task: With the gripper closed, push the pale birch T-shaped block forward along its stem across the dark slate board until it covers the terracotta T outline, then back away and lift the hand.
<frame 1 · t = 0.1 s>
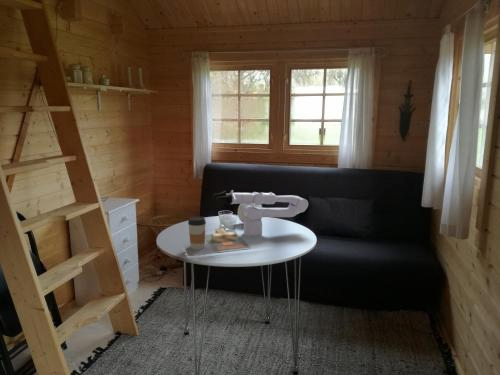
hand: (214, 198, 202), 22 cm above the table, tool horizontal, fingers open, 7 cm apart
t block: (222, 237, 206), point 1 cm above the table, touching slate board
coffee cup: (197, 249, 191), on the table
puzzle ball: (250, 224, 233), on the table
slate board: (225, 242, 200), on the table
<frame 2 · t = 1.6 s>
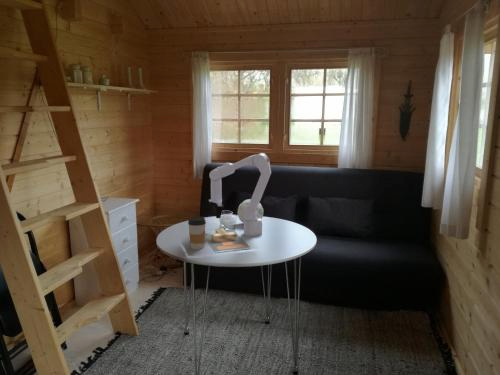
hand: (216, 216, 214), 9 cm above the table, tool pointing down, fingers open, 7 cm apart
nothing on the table moved.
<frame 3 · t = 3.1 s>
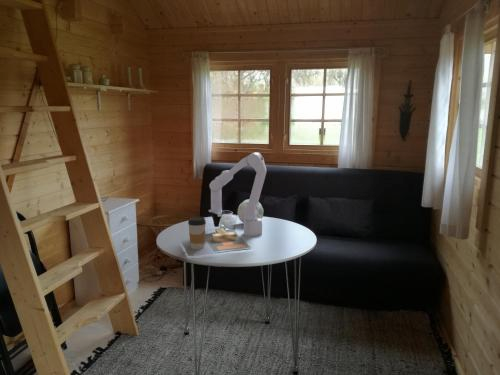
hand: (216, 226, 215), 4 cm above the table, tool pointing down, fingers closed
nothing on the table moved.
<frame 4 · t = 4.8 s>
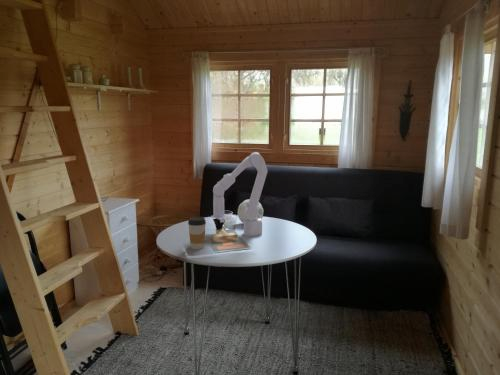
hand: (219, 232, 211), 2 cm above the table, tool pointing down, fingers closed
t block: (222, 238, 205), point 1 cm above the table, touching gripper
everything else where it was.
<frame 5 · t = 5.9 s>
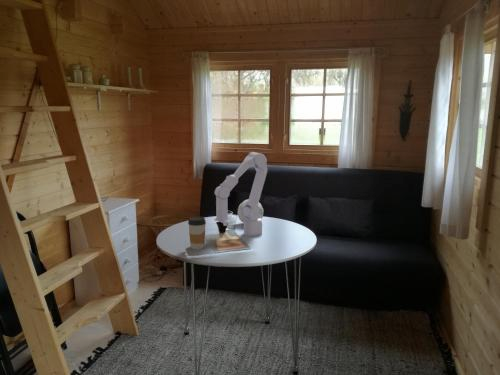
hand: (222, 235, 205), 2 cm above the table, tool pointing down, fingers closed
t block: (225, 241, 199), point 1 cm above the table, touching gripper, slate board
everything else where it was.
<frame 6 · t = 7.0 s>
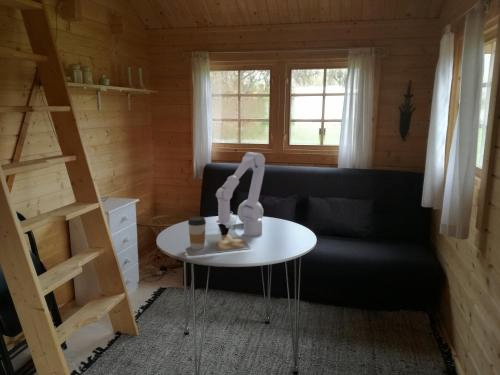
hand: (224, 238, 202), 2 cm above the table, tool pointing down, fingers closed
t block: (228, 244, 195), point 1 cm above the table, touching gripper, slate board
everything else where it was.
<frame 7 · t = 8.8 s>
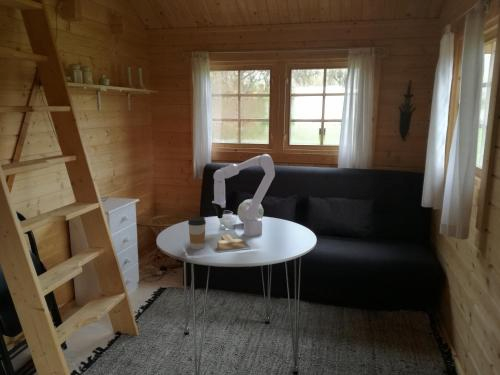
hand: (219, 218, 211), 9 cm above the table, tool pointing down, fingers closed
t block: (228, 244, 195), point 1 cm above the table, touching slate board
everything else where it was.
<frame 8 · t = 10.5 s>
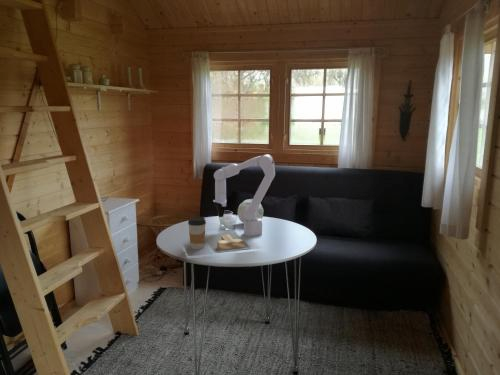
hand: (220, 216, 214), 9 cm above the table, tool pointing down, fingers closed
nothing on the table moved.
at the end: t block 0.2 cm from the target spot, point 1.0 cm above the table; t block tilted 0°; t block moved 11.7 cm from its start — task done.
